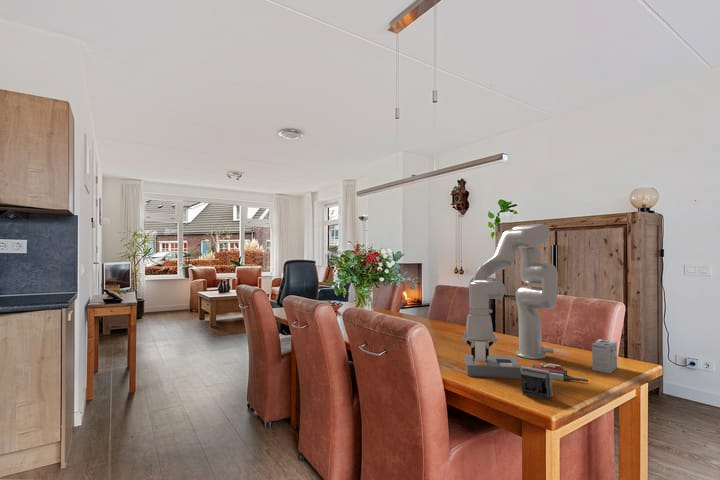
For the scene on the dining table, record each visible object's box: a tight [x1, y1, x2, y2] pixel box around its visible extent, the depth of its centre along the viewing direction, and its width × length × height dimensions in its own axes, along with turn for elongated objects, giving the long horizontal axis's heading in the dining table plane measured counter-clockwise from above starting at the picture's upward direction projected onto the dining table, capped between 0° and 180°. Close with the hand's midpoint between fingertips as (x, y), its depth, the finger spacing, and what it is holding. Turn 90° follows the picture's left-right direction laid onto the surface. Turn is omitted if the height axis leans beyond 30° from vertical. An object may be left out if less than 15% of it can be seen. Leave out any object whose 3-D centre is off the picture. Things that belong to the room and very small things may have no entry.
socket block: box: [464, 353, 522, 380], centre depth 151 cm, size 20×16×4 cm
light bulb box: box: [591, 338, 618, 374], centre depth 153 cm, size 11×7×11 cm, turn 134°
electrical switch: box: [520, 365, 554, 400], centre depth 125 cm, size 9×5×9 cm, turn 51°
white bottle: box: [474, 340, 486, 362], centre depth 153 cm, size 4×4×12 cm
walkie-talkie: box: [531, 362, 589, 383], centre depth 144 cm, size 9×4×20 cm
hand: (479, 356), depth 153 cm, fingers closed on white bottle, 4 cm apart
